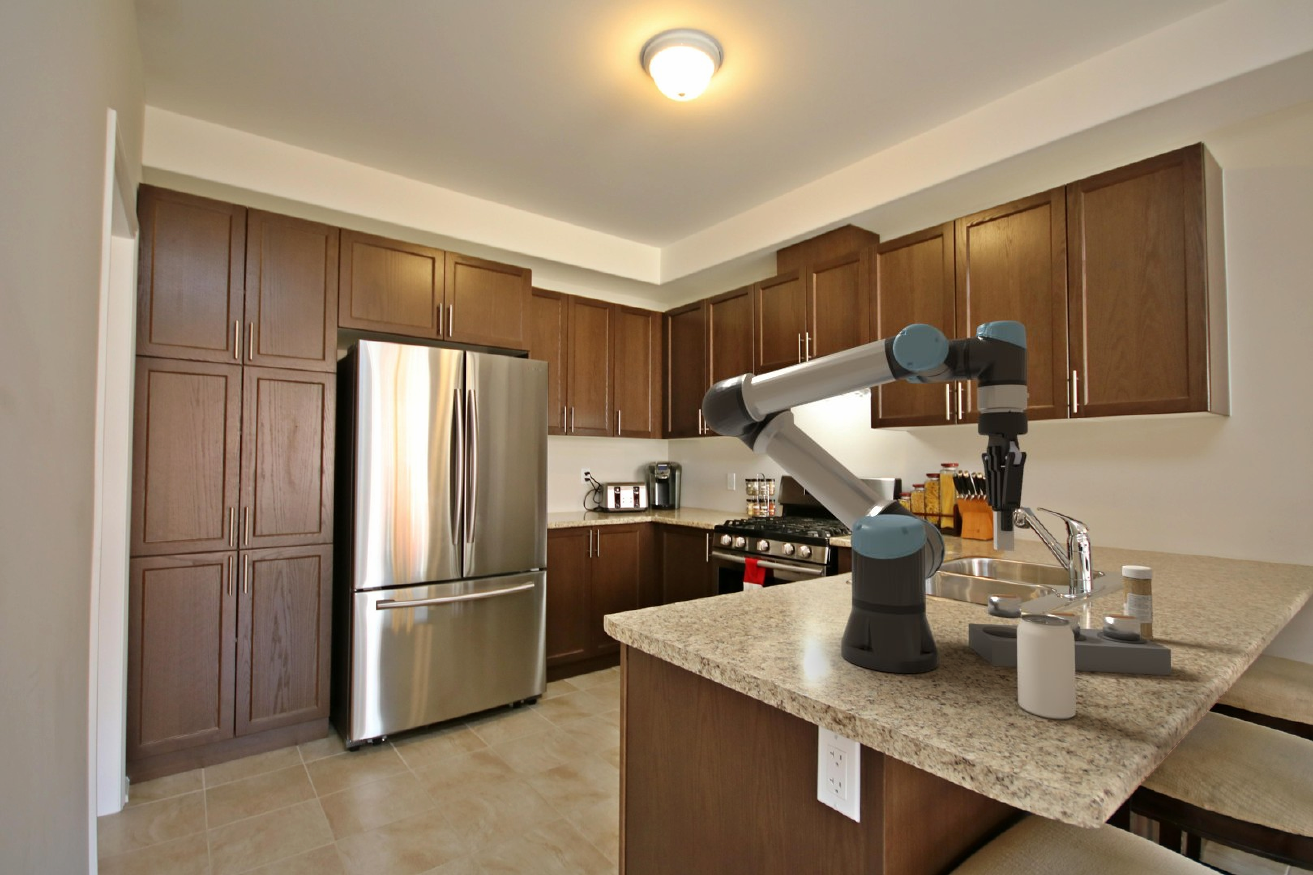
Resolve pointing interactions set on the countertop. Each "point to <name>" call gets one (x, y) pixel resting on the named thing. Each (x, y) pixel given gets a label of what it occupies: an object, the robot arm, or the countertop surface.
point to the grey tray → (1077, 650)
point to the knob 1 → (1004, 606)
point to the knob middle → (1070, 617)
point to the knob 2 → (1121, 626)
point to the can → (1046, 666)
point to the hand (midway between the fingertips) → (1003, 549)
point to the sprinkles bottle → (1139, 596)
